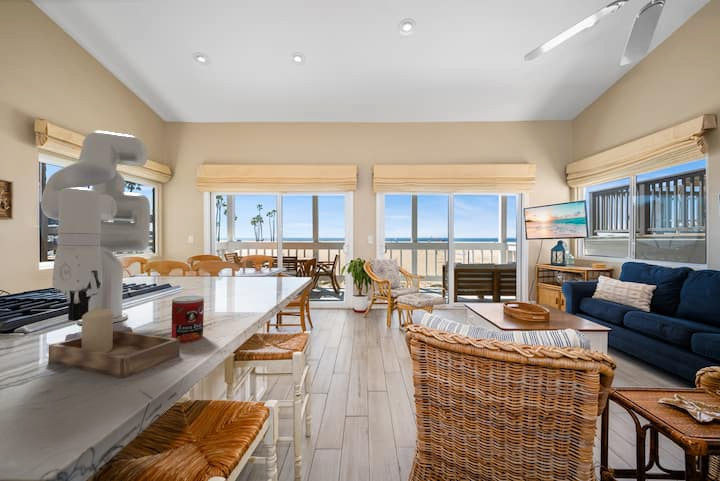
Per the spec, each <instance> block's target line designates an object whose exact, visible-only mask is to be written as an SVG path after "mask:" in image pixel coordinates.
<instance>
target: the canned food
mask: <svg viewBox="0 0 720 481" xmlns="http://www.w3.org/2000/svg"><path fill="white" fill-rule="evenodd" d="M204 300H205V299H204V296H202V295H181V296H175V297H174V298H172V299H171V334H170V335H171V337H170V338H176V339H180V344H182V343H191V342H195V341H196V342H197V341H199V340H200V339H202V338H203V335H204V315H205V314H204V312H205V311H204V310H205V308H204V307H205V303H204V302H205V301H204Z"/></svg>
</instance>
